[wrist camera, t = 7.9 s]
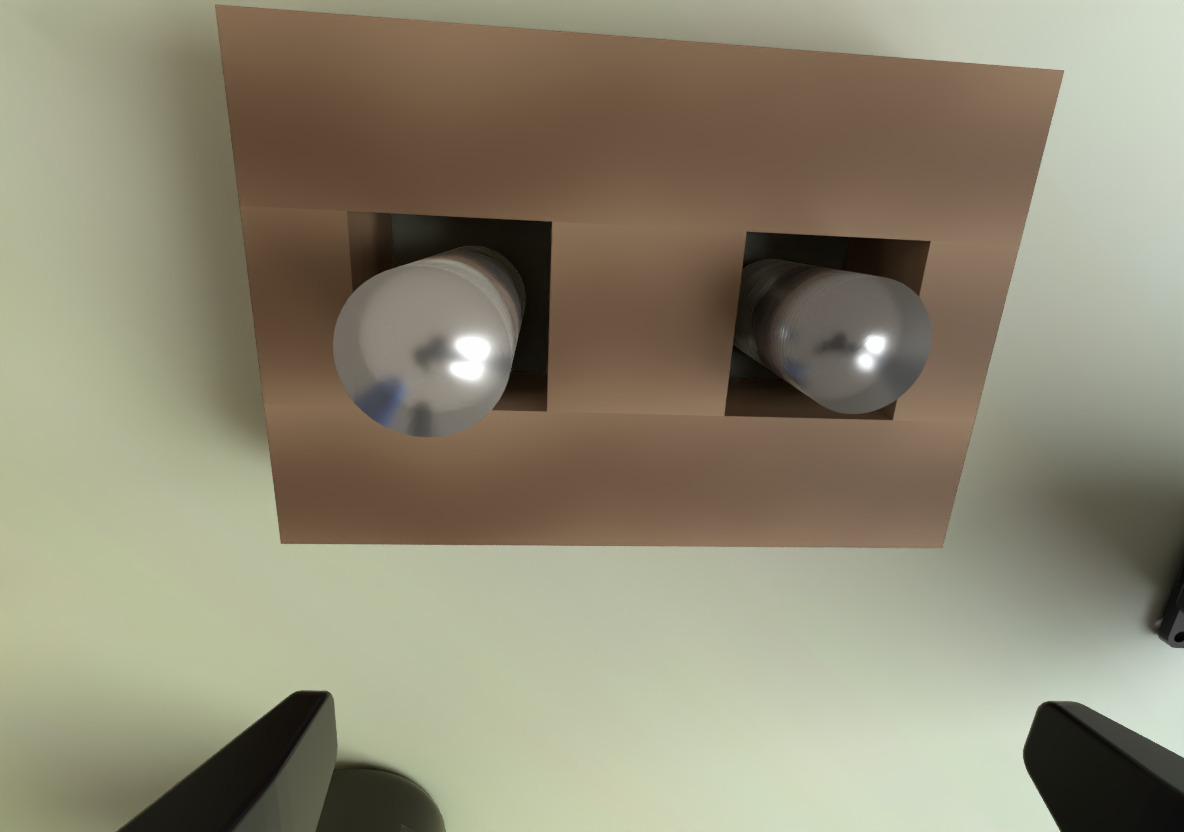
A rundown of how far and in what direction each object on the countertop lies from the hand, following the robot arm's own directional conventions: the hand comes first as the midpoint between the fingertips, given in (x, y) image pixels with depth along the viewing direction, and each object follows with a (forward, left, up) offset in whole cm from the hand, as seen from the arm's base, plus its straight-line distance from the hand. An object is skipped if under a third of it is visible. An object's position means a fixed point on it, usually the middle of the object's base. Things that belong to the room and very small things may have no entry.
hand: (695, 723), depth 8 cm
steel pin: (+4, -4, -12) cm, 14 cm away
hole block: (0, -4, -12) cm, 13 cm away
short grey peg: (-5, -4, -13) cm, 14 cm away
